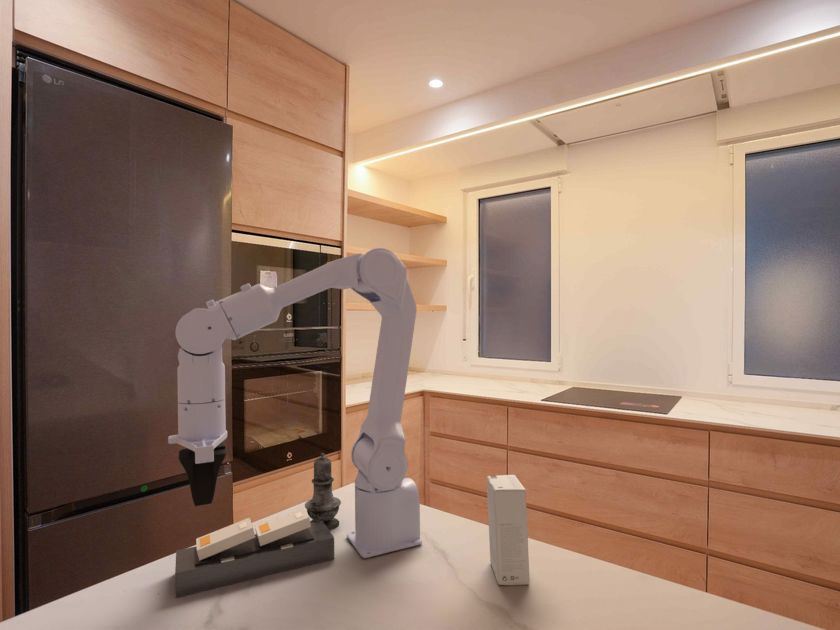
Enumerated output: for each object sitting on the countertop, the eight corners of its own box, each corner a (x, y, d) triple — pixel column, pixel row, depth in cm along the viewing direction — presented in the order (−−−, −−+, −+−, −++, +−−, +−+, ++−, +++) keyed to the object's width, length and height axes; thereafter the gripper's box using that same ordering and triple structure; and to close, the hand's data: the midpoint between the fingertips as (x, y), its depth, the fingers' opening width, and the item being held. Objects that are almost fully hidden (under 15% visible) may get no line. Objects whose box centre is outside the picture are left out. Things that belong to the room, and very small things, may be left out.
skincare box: (531, 585, 60) (529, 489, 60) (495, 586, 59) (494, 490, 59) (519, 560, 66) (517, 473, 66) (487, 561, 66) (486, 474, 66)
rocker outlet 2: (305, 517, 70) (303, 507, 70) (311, 526, 67) (309, 516, 67) (256, 535, 67) (254, 525, 67) (260, 546, 64) (258, 536, 63)
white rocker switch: (252, 526, 67) (249, 516, 66) (255, 537, 63) (252, 527, 63) (198, 548, 64) (196, 538, 63) (199, 560, 60) (196, 549, 60)
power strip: (322, 539, 72) (322, 519, 72) (334, 558, 67) (334, 536, 67) (176, 572, 64) (176, 549, 64) (175, 597, 58) (175, 571, 58)
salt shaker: (333, 534, 74) (332, 458, 74) (298, 531, 76) (297, 456, 76) (346, 518, 80) (345, 448, 80) (314, 516, 81) (313, 446, 81)
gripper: (169, 395, 67) (170, 490, 67) (165, 413, 54) (167, 531, 54) (223, 391, 70) (224, 482, 70) (231, 407, 57) (232, 519, 57)
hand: (203, 503), depth 62 cm, fingers closed
